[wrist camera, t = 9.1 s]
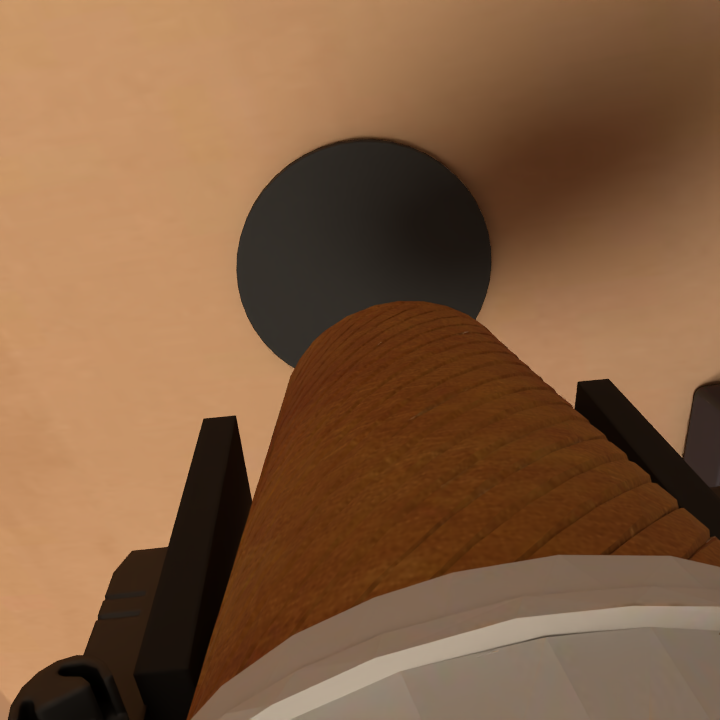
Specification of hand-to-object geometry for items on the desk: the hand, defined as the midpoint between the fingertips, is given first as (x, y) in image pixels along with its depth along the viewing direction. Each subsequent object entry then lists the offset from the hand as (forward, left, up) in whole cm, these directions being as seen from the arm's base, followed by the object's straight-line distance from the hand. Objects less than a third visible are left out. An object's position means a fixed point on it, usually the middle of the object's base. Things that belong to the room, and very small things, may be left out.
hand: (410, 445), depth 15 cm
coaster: (0, 0, -13) cm, 13 cm away
